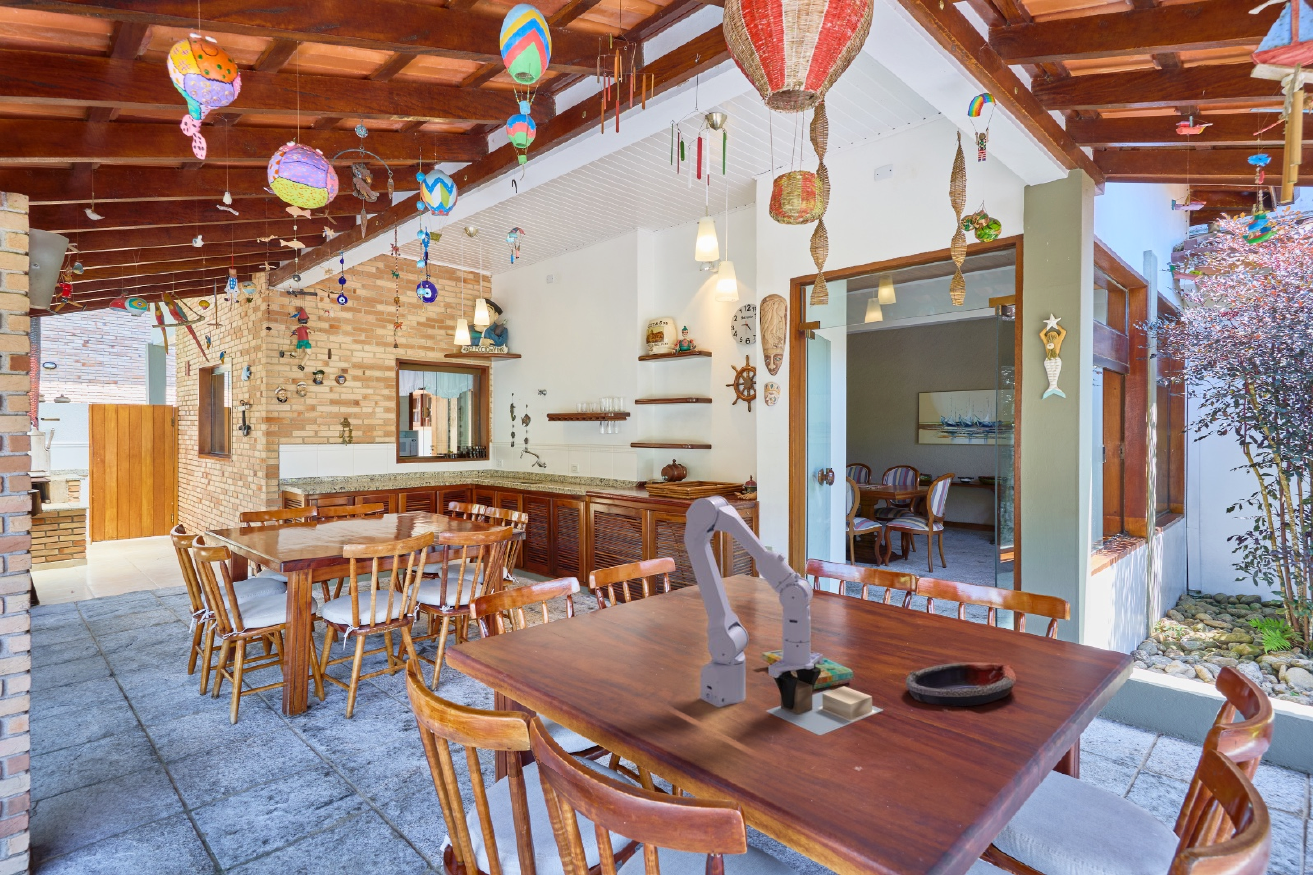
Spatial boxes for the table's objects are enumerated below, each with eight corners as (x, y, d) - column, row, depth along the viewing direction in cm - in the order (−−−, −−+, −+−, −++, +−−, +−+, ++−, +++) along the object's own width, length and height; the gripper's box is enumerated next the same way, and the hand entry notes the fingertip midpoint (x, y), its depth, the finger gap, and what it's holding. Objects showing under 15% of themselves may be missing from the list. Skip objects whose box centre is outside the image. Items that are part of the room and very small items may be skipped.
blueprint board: (819, 739, 123) (819, 735, 123) (765, 714, 134) (765, 710, 134) (883, 713, 135) (883, 709, 135) (828, 693, 146) (828, 689, 146)
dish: (885, 693, 147) (885, 670, 147) (984, 674, 159) (983, 653, 159) (940, 719, 132) (940, 695, 132) (1044, 696, 144) (1044, 674, 145)
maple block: (850, 719, 130) (850, 704, 130) (822, 708, 135) (822, 693, 135) (872, 711, 134) (872, 696, 134) (844, 700, 139) (843, 686, 140)
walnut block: (797, 715, 132) (797, 690, 132) (780, 707, 136) (780, 683, 136) (812, 709, 135) (812, 685, 135) (795, 702, 138) (795, 679, 138)
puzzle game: (811, 675, 145) (761, 649, 163) (811, 696, 145) (761, 668, 163) (853, 667, 150) (799, 643, 168) (853, 688, 149) (799, 661, 168)
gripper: (787, 650, 128) (787, 720, 128) (834, 637, 136) (834, 702, 136) (760, 641, 133) (760, 708, 133) (808, 629, 142) (808, 692, 142)
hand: (796, 704), depth 135 cm, fingers closed on walnut block, 4 cm apart
